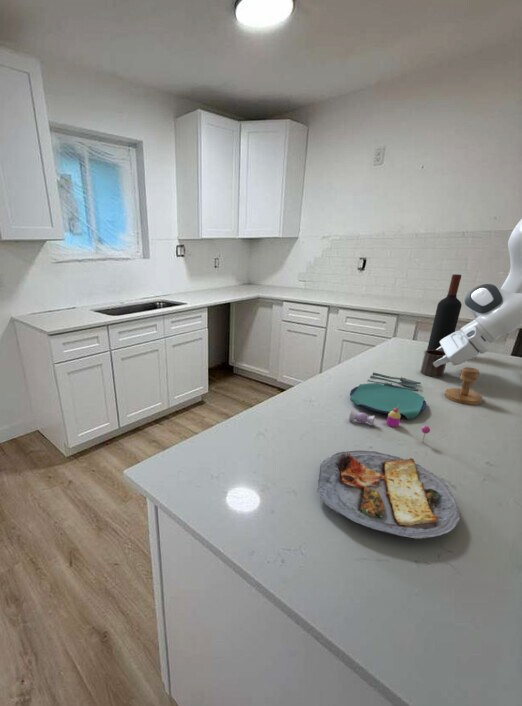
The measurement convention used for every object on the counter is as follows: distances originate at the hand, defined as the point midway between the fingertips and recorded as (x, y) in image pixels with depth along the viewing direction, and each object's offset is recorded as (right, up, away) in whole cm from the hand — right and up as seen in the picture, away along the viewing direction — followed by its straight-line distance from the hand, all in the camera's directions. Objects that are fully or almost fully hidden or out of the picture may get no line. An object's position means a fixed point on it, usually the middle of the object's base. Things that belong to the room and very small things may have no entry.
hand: (432, 361), depth 123 cm
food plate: (-45, -30, -53) cm, 76 cm away
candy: (-32, -20, -31) cm, 48 cm away
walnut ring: (+1, -4, +2) cm, 4 cm away
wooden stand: (-2, -12, -16) cm, 20 cm away
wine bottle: (+16, +4, +21) cm, 26 cm away
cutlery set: (-22, -12, -14) cm, 29 cm away
